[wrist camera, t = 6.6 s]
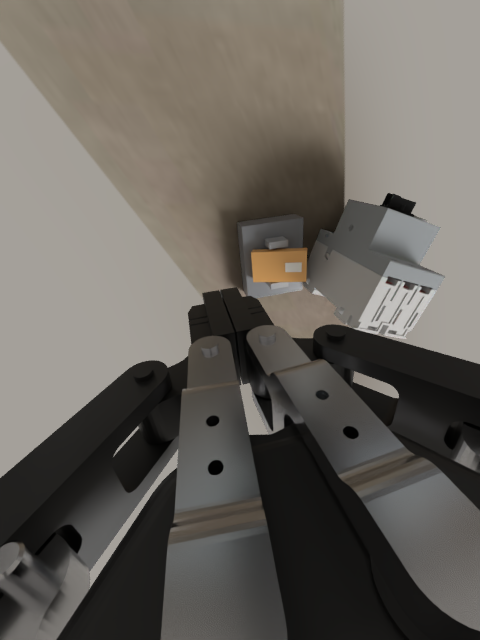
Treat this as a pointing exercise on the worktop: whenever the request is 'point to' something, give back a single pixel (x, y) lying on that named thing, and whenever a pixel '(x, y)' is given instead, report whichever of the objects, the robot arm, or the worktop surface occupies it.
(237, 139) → the worktop surface
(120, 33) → the worktop surface
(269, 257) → the block
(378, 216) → the electrical contactor
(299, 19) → the worktop surface
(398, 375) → the robot arm
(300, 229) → the switch box
